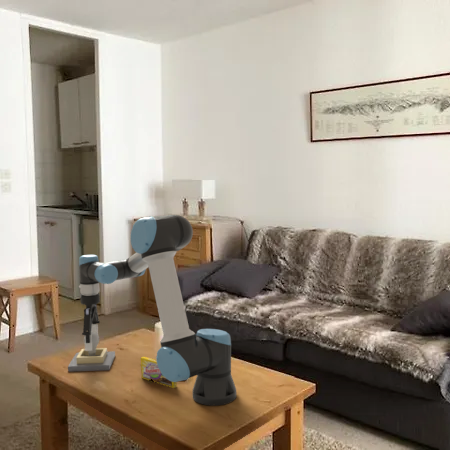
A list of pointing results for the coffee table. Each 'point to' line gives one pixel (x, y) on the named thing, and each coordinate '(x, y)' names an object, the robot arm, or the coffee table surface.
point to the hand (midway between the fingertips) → (91, 344)
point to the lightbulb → (93, 343)
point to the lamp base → (92, 360)
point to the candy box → (154, 372)
